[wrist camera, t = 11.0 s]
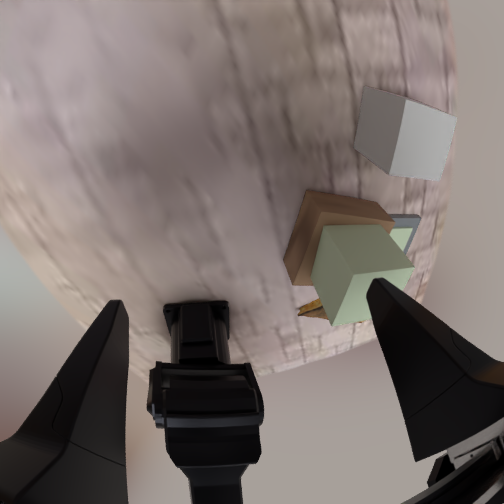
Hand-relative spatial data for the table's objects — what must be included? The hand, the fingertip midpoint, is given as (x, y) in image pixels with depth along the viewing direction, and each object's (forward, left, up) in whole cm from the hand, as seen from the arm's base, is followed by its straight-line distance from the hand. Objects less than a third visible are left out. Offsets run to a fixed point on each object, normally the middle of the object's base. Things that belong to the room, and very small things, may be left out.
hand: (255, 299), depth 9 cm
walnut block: (-6, -9, -12) cm, 17 cm away
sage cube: (-6, -9, -9) cm, 14 cm away
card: (-7, -17, -12) cm, 22 cm away
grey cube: (+4, -12, -12) cm, 18 cm away
